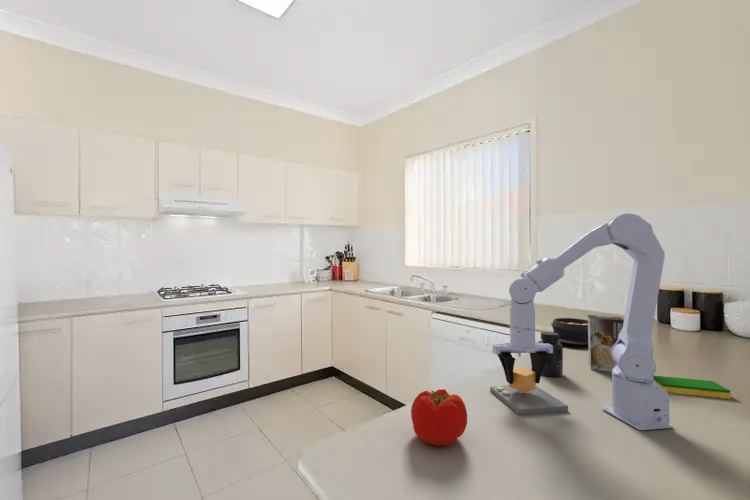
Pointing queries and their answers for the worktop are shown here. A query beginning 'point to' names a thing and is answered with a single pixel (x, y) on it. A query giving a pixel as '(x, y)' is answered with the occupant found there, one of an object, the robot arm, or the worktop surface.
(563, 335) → the casserole
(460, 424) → the tomato
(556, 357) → the supplement bottle
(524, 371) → the orange wooden cube
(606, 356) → the coffee box
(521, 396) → the panel
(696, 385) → the dish sponge
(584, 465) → the worktop surface
